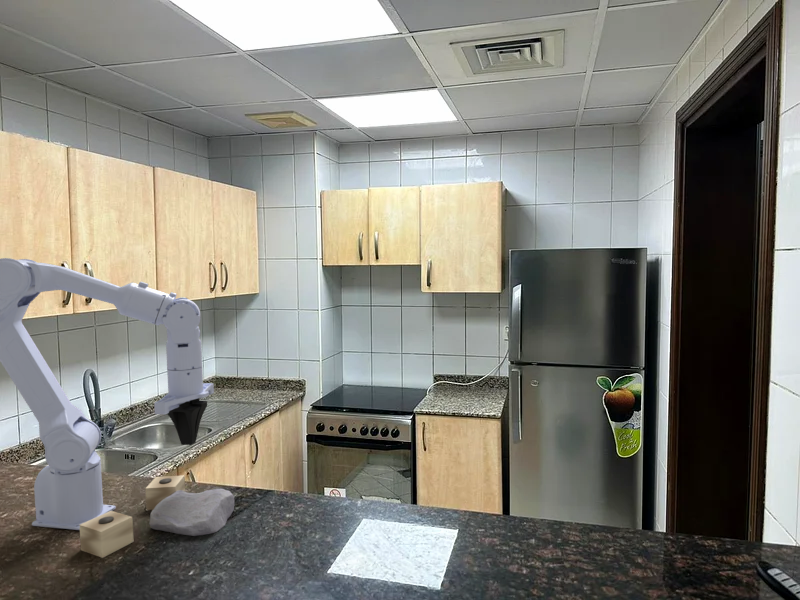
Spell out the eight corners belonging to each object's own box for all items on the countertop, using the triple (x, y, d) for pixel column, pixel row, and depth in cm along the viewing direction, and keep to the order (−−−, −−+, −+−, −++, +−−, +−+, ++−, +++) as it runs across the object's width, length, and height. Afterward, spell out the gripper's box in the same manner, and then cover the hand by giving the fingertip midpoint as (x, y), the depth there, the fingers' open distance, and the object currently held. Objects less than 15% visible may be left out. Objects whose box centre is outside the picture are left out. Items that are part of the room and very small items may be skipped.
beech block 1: (81, 551, 79) (79, 523, 79) (112, 535, 84) (111, 509, 83) (102, 558, 77) (100, 530, 77) (133, 542, 81) (132, 515, 81)
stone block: (217, 547, 83) (239, 506, 92) (212, 520, 82) (235, 482, 91) (143, 549, 83) (172, 508, 93) (137, 523, 82) (167, 484, 92)
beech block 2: (146, 510, 92) (145, 487, 92) (157, 498, 97) (155, 475, 97) (176, 509, 92) (175, 485, 92) (185, 496, 97) (184, 474, 97)
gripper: (180, 376, 86) (184, 459, 86) (227, 360, 100) (230, 431, 101) (141, 375, 87) (145, 457, 88) (193, 359, 101) (196, 430, 102)
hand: (188, 443), depth 94 cm, fingers closed
